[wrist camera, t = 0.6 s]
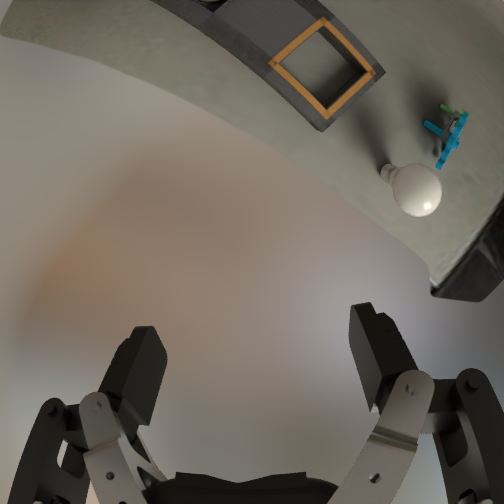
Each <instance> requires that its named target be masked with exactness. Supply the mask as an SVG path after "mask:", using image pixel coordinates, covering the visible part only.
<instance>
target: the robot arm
mask: <svg viewBox="0 0 504 504" xmlns="http://www.w3.org/2000/svg"><path fill="white" fill-rule="evenodd" d="M349 344H350V348H351V351H352V354H353V357H354V360H355V364H356V367H357V370H358V373H359V376H360V379H361V383H362V386H363V390H364V393H365V397H366V400H367V404H368V407H369V411H370V413H372V412H377V411H379V414H380V418H379V420H378V422H377V424H376V426H375V428H374V430H373V431H372V433H371V435H370V436H369V438H368V440H367V442H366V444H365V445H364V447H363V449H362V451H361V452H360V454H359V456H358V458H357V459H356V461H355V463H354V464H353V466H352V468H351V469H350V471H349V472H348V474H347V475H346V477H345V478H344V480H343V482H342V483H341V484H340V486H337V485H335V484H332V483H330V482H328V481H324V480H321V479H316V478H307V477H306V472H299V473H290V474H278V475H270V476H267V477H263V478H259V479H255V480H250V481H246V482H241V483H235V482H230V481H227V480H222V479H219V478H215V477H212V476H208V475H203V474H191V473H181V472H176V476H175V479H170V480H168V479H167V478H166V477H165V475H163V473H162V472H161V471H160V470H159V469H158V467H157V466H156V464H155V462H154V460H153V459H152V457H151V455H150V453H149V451H148V449H147V447H146V445H145V443H144V441H143V439H142V437H141V435H140V433H139V432H138V426H139V425H147V426H149V424H150V420H151V417H152V413H153V410H154V406H155V402H156V399H157V396H158V392H159V389H160V385H161V382H162V378H163V375H164V372H165V369H166V365H167V353H166V350H165V348H164V346H163V344H162V342H161V340H160V338H159V336H158V334H157V332H156V330H155V328H154V327H153V326H137V327H135V328H134V330H133V332H132V334H131V336H130V338H127V339H125V341H123V343H122V344H121V345H120V346H119V347H118V349H117V351H116V353H115V355H114V358H113V359H112V361H111V365H110V366H109V368H108V370H107V372H106V374H105V376H104V379H103V381H102V383H101V385H100V387H99V390H98V391H97V392H92V393H90V394H88V395H87V396H85V397H84V398H83V399H82V401H81V402H80V404H75V405H68V406H66V405H65V404H64V403H63V402H62V401H61V400H60V399H58V398H51V399H49V400H47V401H46V402H45V403H44V404H43V405H42V407H41V409H40V411H39V413H38V416H37V418H36V420H35V423H34V425H33V428H32V430H31V432H30V435H29V437H28V440H27V443H26V445H25V448H24V451H23V453H22V456H21V459H20V462H19V465H18V468H17V472H16V474H15V478H14V481H13V485H12V488H11V492H10V496H9V499H8V503H7V504H85V503H86V498H87V493H88V489H89V484H90V480H91V482H92V485H93V487H94V490H95V493H96V495H97V498H98V500H99V503H100V504H390V503H391V502H392V500H393V498H394V496H395V495H396V493H397V491H398V489H399V487H400V485H401V483H402V481H403V479H404V477H405V475H406V473H407V471H408V469H409V467H410V465H411V462H412V460H413V458H414V455H415V453H416V450H417V446H418V444H417V440H418V437H419V435H420V434H427V433H432V434H433V438H434V442H435V445H436V449H437V453H438V457H439V461H440V465H441V469H442V474H443V478H444V483H445V488H446V493H447V498H448V504H504V412H503V410H502V408H501V405H500V403H499V401H498V399H497V396H496V394H495V392H494V390H493V388H492V386H491V384H490V382H489V380H488V378H487V376H486V375H485V374H484V373H483V372H482V371H480V370H478V369H474V368H469V369H465V370H463V371H462V372H461V373H460V374H459V375H458V377H457V378H456V379H442V380H437V379H432V378H431V377H430V376H429V375H428V374H427V373H425V372H423V371H420V370H419V369H418V368H417V366H416V363H415V361H414V359H413V358H412V355H411V353H410V351H409V349H408V347H407V345H406V343H405V341H404V340H403V339H402V336H401V334H400V332H399V331H398V328H397V326H396V325H395V322H394V321H393V319H391V318H390V317H389V316H387V315H386V314H385V313H384V312H383V313H378V314H376V312H375V310H374V308H373V306H372V304H371V303H370V302H367V303H361V304H356V305H352V306H351V310H350V323H349ZM63 440H65V441H66V442H67V443H68V445H67V449H66V452H65V455H64V458H63V461H62V465H61V468H60V467H59V465H58V463H57V456H58V453H59V450H60V447H61V444H62V441H63Z"/></svg>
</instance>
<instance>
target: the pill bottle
mask: <svg viewBox="0 0 504 504" xmlns="http://www.w3.org/2000/svg"><path fill="white" fill-rule="evenodd" d="M199 1H202V2H207V3H212V2H219V1H222V0H199Z"/></svg>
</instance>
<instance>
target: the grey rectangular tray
mask: <svg viewBox="0 0 504 504" xmlns="http://www.w3.org/2000/svg"><path fill="white" fill-rule="evenodd" d="M151 1H153V2H155V3H156V4H158V5H160V6H162V7H163V8H165V9H167V10H168V11H170V12H172V13H173V14H175V15H177V16H178V17H180V18H181V19H183V20H184V21H186V22H188V23H189V24H191V25H192V26H194V27H195V28H197V29H198V30H200V31H201V32H202V33H204V34H205V35H207V36H208V37H210V38H211V39H212V40H214V41H215V42H217V43H218V44H219V45H221V46H222V47H223V48H225V49H226V50H227V51H229V52H230V53H231V54H232V55H234V56H235V57H236V58H238V59H239V60H240V61H241V62H243V63H244V64H245V65H246V66H248V67H249V68H250V69H251V70H252V71H254V72H255V73H256V74H257V75H258V76H260V77H261V78H262V79H263V80H264V81H265V82H267V83H268V84H269V85H270V86H271V87H272V88H273V89H274V90H276V91H277V92H278V93H279V94H280V95H281V96H282V97H283V98H284V99H285V100H286V101H288V102H289V103H290V104H291V105H292V106H293V107H294V108H295V109H296V110H297V111H298V112H299V113H300V114H301V115H302V116H303V117H304V118H305V119H306V120H307V121H308V122H309V123H310V124H311V125H312V126H313V127H314V128H315V129H316V130H318V131H321V132H324V131H325V130H326V129H327V128H328V127H329V126H330V125H331V124H332V123H333V122H334V121H335V120H336V119H337V118H338V117H339V116H340V115H341V114H342V113H343V112H344V111H346V110H347V109H348V108H349V107H350V106H351V105H352V104H353V103H354V102H355V101H356V100H357V99H358V98H359V97H360V96H361V95H362V94H364V93H365V92H366V91H367V90H368V89H369V88H370V87H371V86H372V85H373V84H374V83H375V82H376V81H378V80H379V79H380V78H381V77H382V76H383V75H384V74H385V73H386V72H385V70H384V69H383V68H382V67H381V65H380V64H379V63H378V62H377V61H376V59H375V58H374V57H373V56H372V55H371V54H370V52H369V51H368V50H367V49H366V48H365V47H364V46H363V44H362V43H361V42H360V41H359V40H358V39H357V38H356V37H355V36H354V35H353V34H352V33H351V32H350V31H349V30H348V29H347V28H346V26H345V25H344V24H343V23H341V22H340V21H339V20H338V19H337V18H336V17H335V16H334V15H333V14H332V13H331V12H330V11H329V10H328V9H327V8H326V7H324V6H323V5H322V4H321V3H320V2H319V1H318V0H228V1H226V2H225V3H224V4H223V5H222V6H221V7H219V8H218V9H217V10H216V11H215V12H214V13H213V12H211V11H210V10H208V9H207V8H205V7H203V6H202V5H200V4H199V3H197V2H195V1H194V0H151ZM316 31H318V32H319V33H320V34H321V35H322V36H323V37H324V38H325V39H326V40H327V41H328V42H329V43H330V44H331V45H332V46H333V47H334V48H335V49H336V50H337V51H338V52H339V53H340V54H341V55H342V56H343V57H344V58H345V59H346V60H347V61H348V62H349V64H350V65H351V66H352V67H353V68H354V69H355V70H356V71H357V72H358V73H357V74H356V75H355V76H354V77H352V78H351V79H350V80H349V81H348V82H347V83H346V84H345V85H344V86H343V87H342V88H340V89H339V90H338V91H337V92H336V93H335V94H334V95H333V96H332V97H331V98H330V99H329V100H328V101H327V102H326V103H324V104H323V105H321V103H320V102H319V101H318V100H317V99H316V98H315V97H314V96H313V95H312V94H311V93H310V92H309V91H308V90H307V89H306V88H305V87H304V86H303V85H302V84H300V83H299V82H298V81H297V80H296V79H295V78H294V77H293V76H292V75H291V74H290V73H289V72H288V71H287V70H285V69H284V68H283V67H282V66H281V65H280V64H279V63H280V62H281V61H282V60H284V59H285V58H286V57H287V56H288V55H289V54H290V53H291V52H293V51H294V50H295V49H296V48H297V47H298V46H299V45H301V44H302V43H303V42H304V41H305V40H307V39H308V38H309V37H310V36H311V35H313V34H314V33H315V32H316Z"/></svg>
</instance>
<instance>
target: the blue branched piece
mask: <svg viewBox="0 0 504 504" xmlns="http://www.w3.org/2000/svg"><path fill="white" fill-rule="evenodd" d="M440 108H441V109H443V110H444V111H446V112H447V113H449V114H450V115H452V117H451V119H450V121H449V123H448V124H447V126H446V128H445V130H444V131H443V130H441V129H440V128H438V127H437V126H435V125H434V124H432V123H431V122H429V121H428V120H426V121H425V122H424V126H426V127H427V128H429V129H430V130H432V131H433V132H435V133H436V134H437V135H439V136H440V137H441V138H440V139H441V140H443V141H444V142H446V143H447V144H446V147H445V149H444V150H443V152H442V154H441V156H440V159H439V160H438V162H437V164H436V168H438V169H439V170H440V169H441V168H442V166H443V165H444V163H445V161H446V159H447V158H448V156H449V154H450V152H451V150H452V149H454V147H456V148H457V147H458V145H459V142H458V139H459V138H458V137H459V135H460V133H461V131H462V129H463V127H464V125H465V123H466V121H467V119H468V116H469V113H468V112H467V111H465V110H464V109H462V111H461V113H460V115H459V112H458V111H457V110H455V111H454V112H453V111H452V110H450V109H449V108H447V107H446V106H444V105H443V104H441V105H440ZM454 120H455V121H456V120H457V121H456V123H455V125H454V127H455V129H454V131H453V134H450V133H449V132H448V130H449V128H450V126H451V125H452V123H453V121H454Z"/></svg>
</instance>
